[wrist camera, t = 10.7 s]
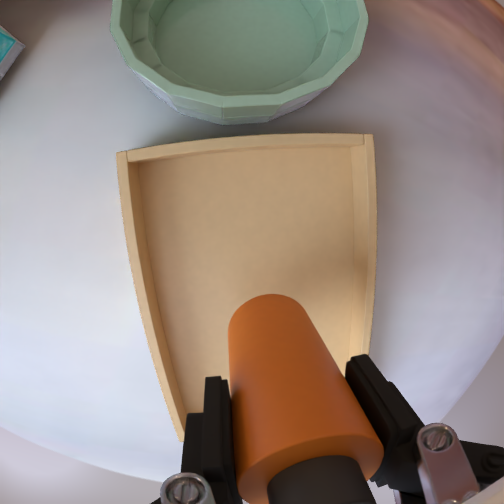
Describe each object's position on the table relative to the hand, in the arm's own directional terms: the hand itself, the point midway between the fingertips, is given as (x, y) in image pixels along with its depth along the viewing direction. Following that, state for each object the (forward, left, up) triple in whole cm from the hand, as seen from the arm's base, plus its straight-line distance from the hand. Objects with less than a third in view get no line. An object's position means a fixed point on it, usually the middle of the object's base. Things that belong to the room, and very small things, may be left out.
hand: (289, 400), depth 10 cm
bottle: (0, 0, -5) cm, 5 cm away
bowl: (0, +17, -9) cm, 19 cm away
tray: (0, 0, -9) cm, 9 cm away
